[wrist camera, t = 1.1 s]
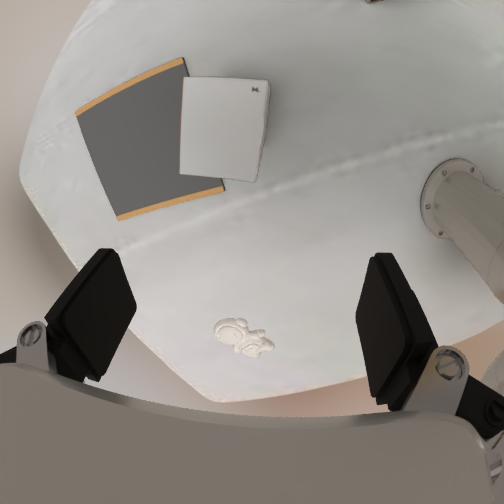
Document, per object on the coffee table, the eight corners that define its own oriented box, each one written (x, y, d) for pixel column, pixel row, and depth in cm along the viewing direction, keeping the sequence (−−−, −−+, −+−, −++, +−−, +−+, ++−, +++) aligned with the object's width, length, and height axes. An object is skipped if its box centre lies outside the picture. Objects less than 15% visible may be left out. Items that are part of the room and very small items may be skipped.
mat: (183, 57, 25) (181, 57, 25) (225, 189, 35) (224, 191, 34) (77, 111, 29) (74, 111, 28) (120, 219, 38) (118, 221, 38)
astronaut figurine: (249, 357, 55) (248, 369, 52) (205, 328, 50) (202, 340, 48) (282, 341, 51) (282, 354, 49) (237, 308, 47) (235, 321, 44)
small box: (216, 79, 27) (181, 74, 16) (271, 83, 27) (271, 78, 16) (211, 143, 32) (177, 176, 21) (263, 148, 32) (258, 183, 21)
